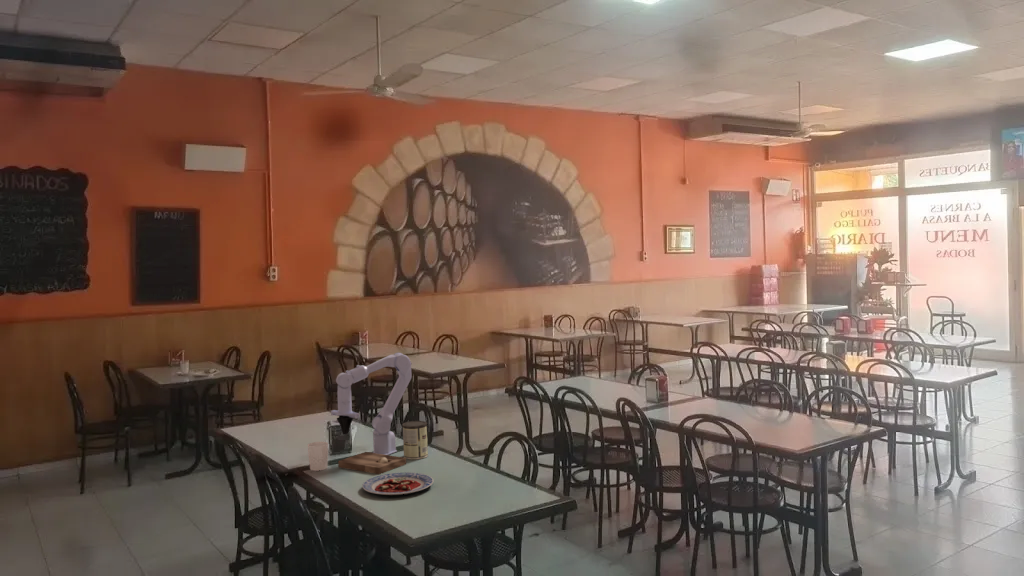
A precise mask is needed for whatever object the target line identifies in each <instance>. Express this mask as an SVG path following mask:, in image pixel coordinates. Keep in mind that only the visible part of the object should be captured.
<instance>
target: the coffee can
mask: <svg viewBox="0 0 1024 576" xmlns="http://www.w3.org/2000/svg"><path fill="white" fill-rule="evenodd" d="M427 425H428V422H427V421H424V420H412V421H405V422H403V423H402V440H403V442H402V444H403V445H402V446H403V458H406V460H413V461H414V460H415V461H416V460H421V459H426V458H427V457H428V456H429V452H428V449H429V448H428V446H429V445H428V426H427Z"/></svg>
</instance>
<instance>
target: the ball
mask: <svg viewBox="0 0 1024 576" xmlns="http://www.w3.org/2000/svg"><path fill="white" fill-rule="evenodd" d="M387 462H388V460H387V458H385V457H381V458H380V459H379V460H378V463H383V464H384V463H387Z"/></svg>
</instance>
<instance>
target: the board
mask: <svg viewBox="0 0 1024 576" xmlns="http://www.w3.org/2000/svg"><path fill="white" fill-rule="evenodd" d="M381 457H385V458H387V460H388V462H387V463H384V464H383V463H378V460H379V459H380V458H381ZM406 465H407V459H406V458H404V456H403V457H402V456H396V455H391V454H389V455H383V454H377V453H372V452H370V451H369V452H368V451H364V452H362V453H358V454H355V455H352V456H349V457H346V458H344V459H340V460H338V468H342V469H348V470H354V471H359V472H364V473H371V474H375V475H376V474H377V475H382V474H385V473H387V472H389V471H392V470H394V469H397V468H400V467H401V466H406ZM381 473H382V474H381Z"/></svg>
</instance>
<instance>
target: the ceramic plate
mask: <svg viewBox="0 0 1024 576" xmlns="http://www.w3.org/2000/svg"><path fill="white" fill-rule="evenodd" d="M434 482H435V481H434V478H433V477H432V476H430V475H427V474H424V473H420V472H392V473H386V474H385V473H384V474H379V475H376V476H374V477H371V478H369V479H366V480H365V481H364V482H363V483H362V489H363V490H364V491H366V492H368V493H371V494H375V495H384V496H403V494H404V495H409V494H413V493H417V492H419V491H424V490H425V489H427V488H429V487H431V486H432V485H433V483H434Z"/></svg>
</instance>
